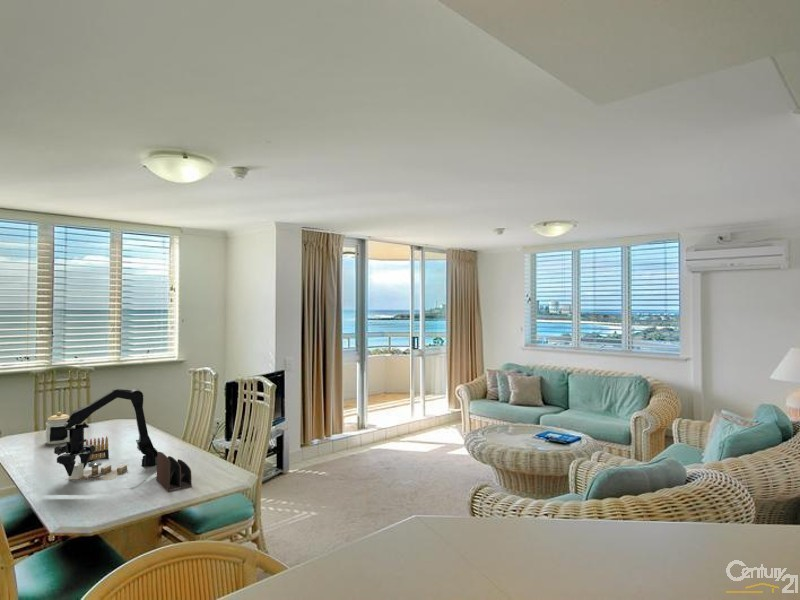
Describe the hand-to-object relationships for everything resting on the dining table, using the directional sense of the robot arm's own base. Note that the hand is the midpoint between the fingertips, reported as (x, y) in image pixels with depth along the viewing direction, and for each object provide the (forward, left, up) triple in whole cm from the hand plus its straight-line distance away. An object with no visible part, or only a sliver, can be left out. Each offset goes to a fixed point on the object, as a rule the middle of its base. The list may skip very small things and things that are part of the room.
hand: (76, 472), depth 227 cm
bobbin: (-7, -2, -2) cm, 8 cm away
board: (-7, -4, -4) cm, 9 cm away
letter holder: (-46, +4, -4) cm, 47 cm away
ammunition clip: (+9, -30, -4) cm, 32 cm away
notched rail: (-13, -8, -2) cm, 15 cm away
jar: (+55, -68, -4) cm, 88 cm away
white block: (0, 0, -2) cm, 2 cm away
